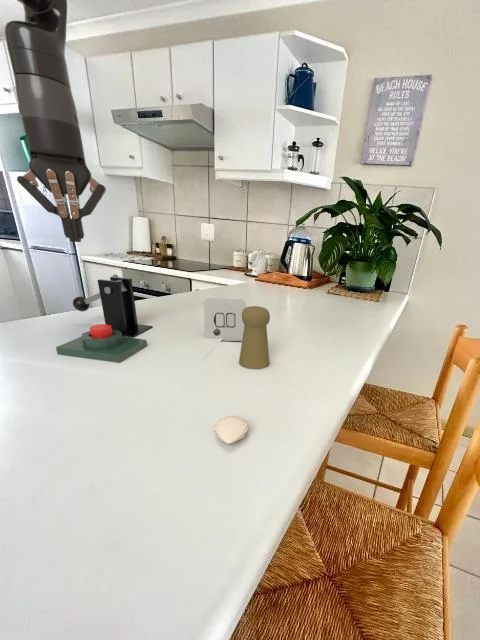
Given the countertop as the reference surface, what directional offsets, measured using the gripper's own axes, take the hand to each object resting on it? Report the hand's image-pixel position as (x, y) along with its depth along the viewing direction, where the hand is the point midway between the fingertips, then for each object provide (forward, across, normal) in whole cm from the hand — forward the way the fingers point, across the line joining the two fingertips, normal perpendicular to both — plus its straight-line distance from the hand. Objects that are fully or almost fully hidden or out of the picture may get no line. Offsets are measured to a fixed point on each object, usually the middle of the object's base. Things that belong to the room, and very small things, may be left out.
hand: (75, 241), depth 58 cm
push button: (+16, -2, +7) cm, 17 cm away
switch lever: (+13, -2, -7) cm, 15 cm away
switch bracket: (+19, -5, -5) cm, 20 cm away
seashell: (+20, -18, +40) cm, 49 cm away
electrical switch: (+20, -26, +2) cm, 33 cm away
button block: (+19, -2, +7) cm, 21 cm away
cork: (+20, -29, +17) cm, 39 cm away
